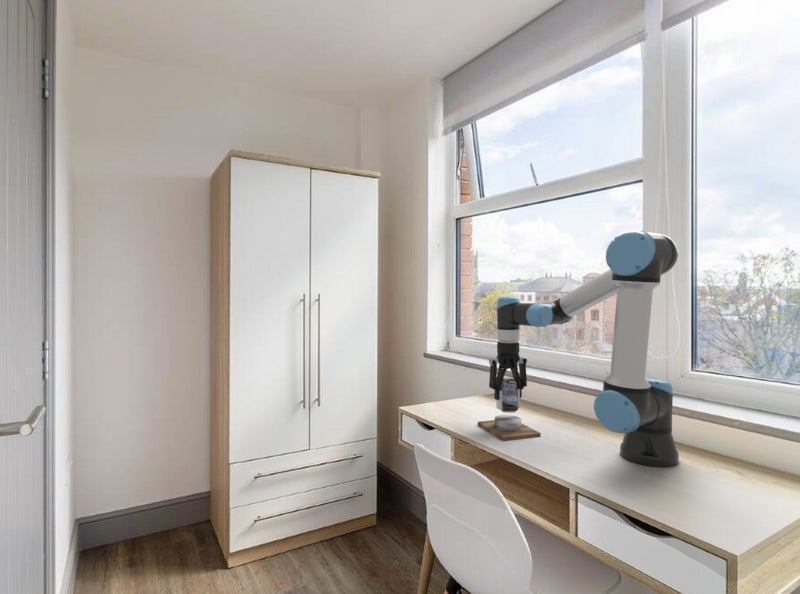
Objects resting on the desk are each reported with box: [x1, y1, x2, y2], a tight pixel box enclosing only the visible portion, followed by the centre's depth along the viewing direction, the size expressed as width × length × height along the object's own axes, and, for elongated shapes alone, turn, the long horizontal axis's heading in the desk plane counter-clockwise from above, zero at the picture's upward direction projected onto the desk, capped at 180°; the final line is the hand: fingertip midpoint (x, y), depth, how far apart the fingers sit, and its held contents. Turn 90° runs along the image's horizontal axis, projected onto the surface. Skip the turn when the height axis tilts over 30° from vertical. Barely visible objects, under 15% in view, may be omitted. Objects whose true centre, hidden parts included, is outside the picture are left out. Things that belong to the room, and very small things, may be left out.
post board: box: [477, 414, 542, 442], centre depth 163 cm, size 18×14×4 cm
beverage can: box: [500, 377, 519, 414], centre depth 163 cm, size 6×7×12 cm
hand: (508, 407), depth 163 cm, fingers closed on beverage can, 6 cm apart
